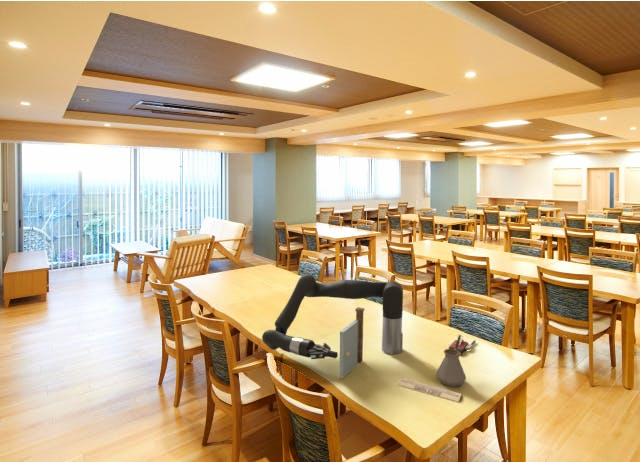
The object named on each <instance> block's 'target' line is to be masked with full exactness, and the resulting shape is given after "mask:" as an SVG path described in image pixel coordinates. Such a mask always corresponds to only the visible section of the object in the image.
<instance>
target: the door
mask: <svg viewBox="0 0 640 462" xmlns="http://www.w3.org/2000/svg"><path fill="white" fill-rule="evenodd" d="M358 329H359V320H356V319H355V320H353V321H352V322H351V323H350V324H348V325H347V326H345V327H344V328H342V329H341V330H340V331H339V373H338V374H339V376H338V377H339V379H342V380H343V379H344V378H345V377H347V375H348V374H349V373H351V371H353V369H354V368H355V367H356V366H357V365H358V364H359V363H358Z"/></svg>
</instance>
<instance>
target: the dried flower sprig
mask: <svg viewBox="0 0 640 462" xmlns="http://www.w3.org/2000/svg"><path fill="white" fill-rule="evenodd" d="M457 340H458V339H455V340H454V341H453V342H452V343H451V344H450V345H449V346H448V349H454V350H455V345H456V342H457ZM464 340H465V339H464V338H462V339H460V341H459V345H458V348H457V351H459V352H460V353H461V355H460V356H462V355H463V354H464V353H466V352H465V351H467V350H470V349H471V348H472V347H473V348H474V344H475V343H476V340H473V341H472V342H471V343H469V342H467V341H466V340H465V341H464ZM471 350H472V349H471Z"/></svg>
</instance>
